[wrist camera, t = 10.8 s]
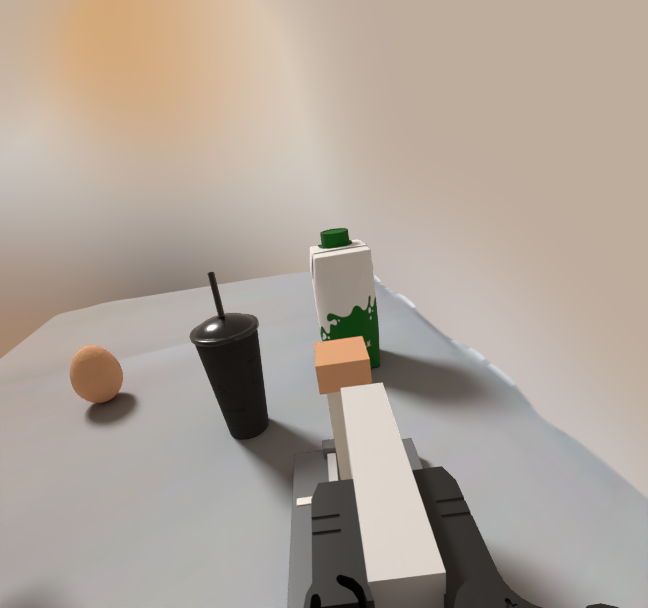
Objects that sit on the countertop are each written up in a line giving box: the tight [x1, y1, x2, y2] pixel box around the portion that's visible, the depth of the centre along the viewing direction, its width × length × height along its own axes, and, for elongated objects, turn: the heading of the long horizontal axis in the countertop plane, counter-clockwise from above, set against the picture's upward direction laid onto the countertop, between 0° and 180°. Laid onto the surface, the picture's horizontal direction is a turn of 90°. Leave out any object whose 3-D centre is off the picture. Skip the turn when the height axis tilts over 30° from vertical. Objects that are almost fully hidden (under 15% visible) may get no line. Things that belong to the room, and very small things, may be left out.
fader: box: [315, 336, 372, 480], centre depth 32 cm, size 4×4×13 cm
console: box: [287, 438, 423, 608], centre depth 28 cm, size 22×12×3 cm, turn 3°
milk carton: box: [310, 228, 380, 368], centre depth 56 cm, size 9×9×20 cm
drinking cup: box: [190, 272, 268, 439], centre depth 44 cm, size 8×8×20 cm
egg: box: [70, 346, 123, 403], centre depth 57 cm, size 7×7×9 cm
